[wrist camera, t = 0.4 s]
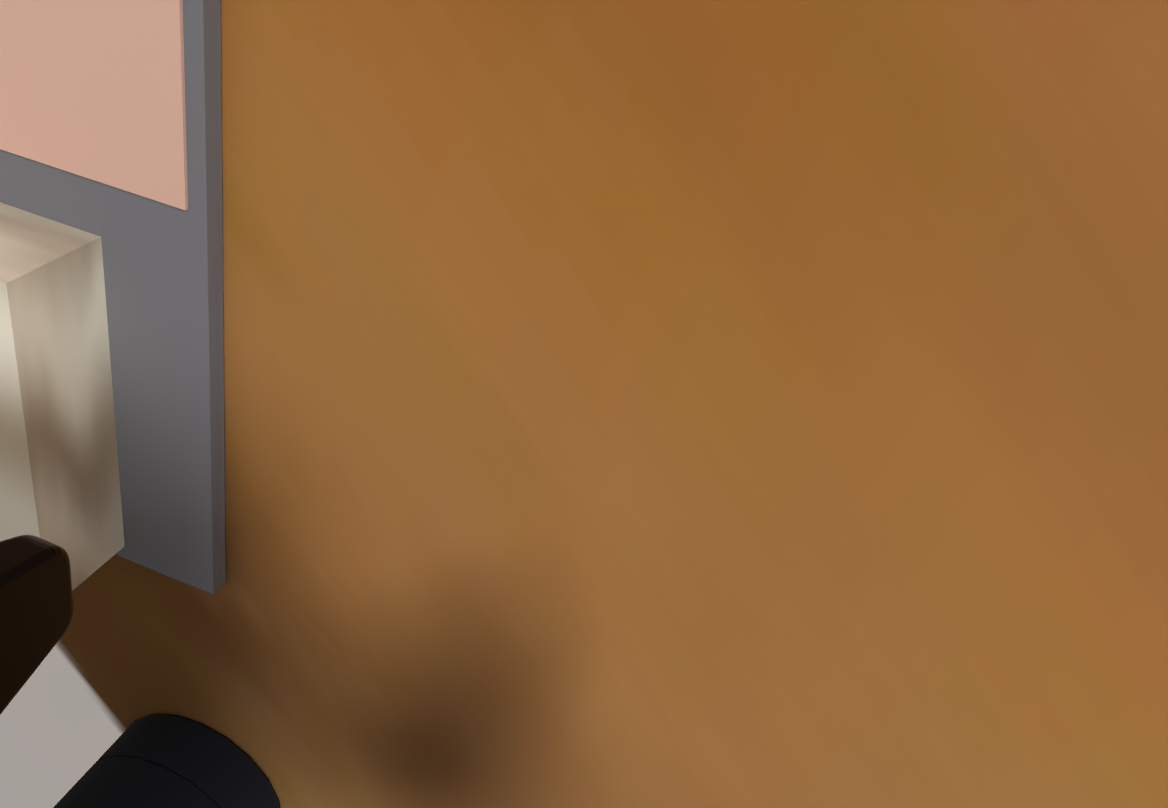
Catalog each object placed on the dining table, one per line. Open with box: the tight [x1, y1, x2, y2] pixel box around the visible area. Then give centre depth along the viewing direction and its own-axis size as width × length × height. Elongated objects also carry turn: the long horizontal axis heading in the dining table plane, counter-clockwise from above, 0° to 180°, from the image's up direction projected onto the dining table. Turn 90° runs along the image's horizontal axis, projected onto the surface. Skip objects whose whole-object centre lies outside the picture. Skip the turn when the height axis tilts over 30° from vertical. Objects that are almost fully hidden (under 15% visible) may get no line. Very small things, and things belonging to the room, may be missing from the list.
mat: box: [0, 0, 226, 594], centre depth 27 cm, size 21×12×1 cm, turn 170°
